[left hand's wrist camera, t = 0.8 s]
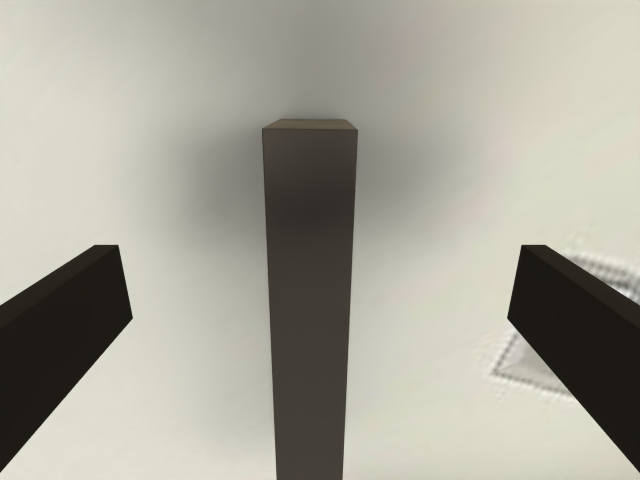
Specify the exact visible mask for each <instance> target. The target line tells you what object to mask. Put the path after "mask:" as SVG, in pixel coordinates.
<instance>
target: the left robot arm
mask: <svg viewBox="0 0 640 480" xmlns="http://www.w3.org/2000/svg"><path fill="white" fill-rule="evenodd" d="M132 319H133V316H132V311H131V306H130V301H129V296H128V291H127V286H126V281H125V276H124V271H123V266H122V261H121V256H120V251H119V246H118V245H94V246H92V247H91V248H89V249H88V250H86V251H84V252H83V253H81V254H80V255H78V256H77V257H75V258H74V259H72V260H70V261H69V262H67V263H66V264H64V265H63V266H61V267H60V268H58V269H56V270H55V271H53V272H52V273H50V274H49V275H47V276H46V277H44V278H42V279H41V280H39V281H38V282H36V283H35V284H33V285H32V286H30V287H28V288H27V289H25V290H24V291H22V292H21V293H19V294H17V295H16V296H14V297H13V298H11V299H10V300H8V301H7V302H5V303H3V304H2V305H0V472H1V471H2V470H3V469H4V468H5V467H6V465H7V464H8V463H9V462H10V461H11V460H12V458H13V457H14V456H15V455H16V454H17V453H18V452H19V450H20V449H21V448H22V447H23V446H24V445H25V443H26V442H27V441H28V440H29V439H30V438H31V436H32V435H33V434H34V433H35V432H36V431H37V429H38V428H39V427H40V426H41V425H42V424H43V422H44V421H45V420H46V419H47V418H48V417H49V415H50V414H51V413H52V412H53V411H54V410H55V408H56V407H57V406H58V405H59V404H60V403H61V401H62V400H63V399H64V398H65V397H66V396H67V394H68V393H69V392H70V391H71V390H72V389H73V387H74V386H75V385H76V384H77V383H78V382H79V380H80V379H81V378H82V377H83V376H84V375H85V373H86V372H87V371H88V370H89V369H90V368H91V366H92V365H93V364H94V363H95V362H96V361H97V359H98V358H99V357H100V356H101V355H102V354H103V353H104V351H105V350H106V349H107V348H108V347H109V346H110V344H111V343H112V342H113V341H114V340H115V339H116V337H117V336H118V335H119V334H120V333H121V332H122V330H123V329H124V328H125V327H126V326H127V325H128V323H129V322H130V321H131V320H132ZM507 319H508V320H509V321H510V322H511V323H512V325H513V326H514V327H515V328H516V329H517V330H518V332H519V333H520V334H521V335H522V336H523V337H524V339H525V340H526V341H527V342H528V343H529V344H530V346H531V347H532V348H533V349H534V350H535V351H536V353H537V354H538V355H539V356H540V357H541V358H542V359H543V361H544V362H545V363H546V364H547V365H548V366H549V368H550V369H551V370H552V371H553V372H554V373H555V375H556V376H557V377H558V378H559V379H560V380H561V382H562V383H563V384H564V385H565V386H566V387H567V389H568V390H569V391H570V392H571V393H572V394H573V396H574V397H575V398H576V399H577V400H578V401H579V403H580V404H581V405H582V406H583V407H584V408H585V410H586V411H587V412H588V413H589V414H590V415H591V417H592V418H593V419H594V420H595V421H596V422H597V424H598V425H599V426H600V427H601V428H602V429H603V431H604V432H605V433H606V434H607V435H608V436H609V438H610V439H611V440H612V441H613V442H614V443H615V445H616V446H617V447H618V448H619V449H620V450H621V452H622V453H623V454H624V455H625V456H626V457H627V459H628V460H629V461H630V462H631V463H632V464H633V465H634V467H635V468H636V469H637V470H638V471H639V472H640V305H638V304H637V303H635V302H633V301H632V300H630V299H629V298H627V297H626V296H624V295H623V294H621V293H619V292H618V291H616V290H615V289H613V288H612V287H610V286H608V285H607V284H605V283H604V282H602V281H601V280H599V279H598V278H596V277H594V276H593V275H591V274H590V273H588V272H587V271H585V270H584V269H582V268H580V267H579V266H577V265H576V264H574V263H573V262H571V261H570V260H568V259H566V258H565V257H563V256H562V255H560V254H559V253H557V252H556V251H554V250H552V249H551V248H549V247H548V246H546V245H522V246H521V251H520V256H519V261H518V266H517V271H516V276H515V281H514V286H513V291H512V296H511V301H510V306H509V311H508V316H507Z"/></svg>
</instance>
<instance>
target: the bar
mask: <svg viewBox="0 0 640 480" xmlns="http://www.w3.org/2000/svg"><path fill="white" fill-rule="evenodd" d="M357 137H358V130H357V129H356V128H355V127H354V126H353V125H351V124H350V123H349V122H348V121H347V120H315V119H280V120H278V121H276V122H274V123H272V124H271V125H269V126H267V127H265V128H263V129H262V140H263V164H264V188H265V212H266V235H267V259H268V283H269V307H270V331H271V355H272V379H273V403H274V427H275V451H276V475H277V480H342V479H343V456H344V433H345V411H346V388H347V365H348V342H349V319H350V296H351V274H352V251H353V228H354V205H355V182H356V160H357Z"/></svg>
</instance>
